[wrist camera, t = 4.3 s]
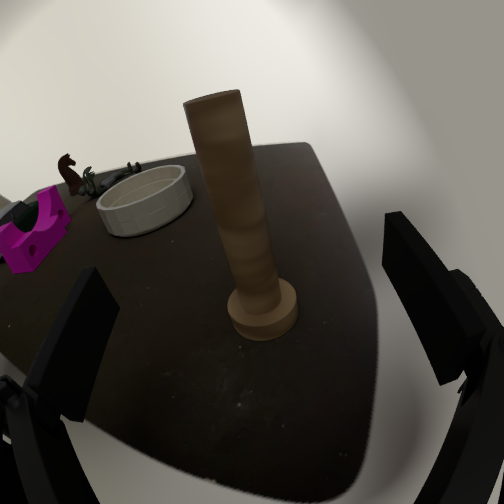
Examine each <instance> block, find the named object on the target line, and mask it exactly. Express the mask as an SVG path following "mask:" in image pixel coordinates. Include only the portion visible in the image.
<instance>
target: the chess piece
mask: <svg viewBox="0 0 504 504" xmlns="http://www.w3.org/2000/svg"><path fill="white" fill-rule="evenodd" d="M69 156H70V155H68V153H67V154H66V155H64V156H62V157H61V158H60V160H59V161H58V169H59V172H60V174H61V176H62V177H63V178H64V180H65V182H66V183H67V184H68V186H69V192H70V195H75V194H77V193H78V192H79V189H80V187H81V186H84V185H85V183H84V181H83V180H82V178H81V177H80V176H79V175H78V174H77V173H76V172H75V171H74V170H72V169H71V168H70V167H68V166H70V165H73V166H75V164H76V162H75V161H74V160H72V159H71V158H69ZM85 186H86V185H85Z"/></svg>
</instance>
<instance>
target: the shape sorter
mask: <svg viewBox="0 0 504 504" xmlns="http://www.w3.org/2000/svg"><path fill="white" fill-rule="evenodd" d="M10 203H12V202H11V201H10V200H8V199H7V198H5V197H3V196H2V195H0V210H2V209H3V208H4V207H6V206H7V205H9V204H10Z"/></svg>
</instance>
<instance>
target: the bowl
mask: <svg viewBox="0 0 504 504" xmlns="http://www.w3.org/2000/svg"><path fill="white" fill-rule="evenodd" d="M192 199H193V194H192V190H191V187H190V184H189V180H188V177H187V174H186V171H185V168H184V167H182V166H180V165H167V166H160V167H157V168H153V169H149V170H146V171H143V172H141V173H138V174H135V175H133V176H131V177H129V178H127V179H125V180H123V181H121V182H120V183H118V184H116V185H114V186H113V187H112V188H110V189H109V190H108V191H106V192H105V193H104V194H103V195H102V196H101V197H100V198H99V200H98V202H97V204H96V206H97V208H98V211H99V213H100V215H101V217H102V220H103V222H104V224H105V226H106V228H107V230H108V232H109V233H110V234H112V235H115V236H120V237H132V236H138V235H142V234H145V233H148V232H151V231H154V230H156V229H158V228H160V227H162V226H164V225H166V224H168V223H170V222H171V221H173V220H174V219H176V218H177V217H178V216H180V215H181V214H182V213H183V212H184V211H185V210H186V209H187V207H188V206H189V204H190V203H191V201H192Z"/></svg>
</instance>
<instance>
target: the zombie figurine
mask: <svg viewBox="0 0 504 504" xmlns="http://www.w3.org/2000/svg"><path fill="white" fill-rule="evenodd" d="M135 164H136V167H137V168H136V169H135V171H133V170H132V167H131V164H130V162H129V163H128V164H127V166H128V170H126V171H122V172H120V171H118V172H115V173H113V174H112V175H111V176H110V177H108V178H107V179H105V180H104V181H102V183H101V186H100V188H99V189H97V188H96V187H95V184H94V182H93V177H95V176H94V175H95V174H94V173H93V172H90V173H89V171H90V170H91V168H92V167H91V166H90V167H87V168H86V169H85V170H84V172H83V180H84V182H85V184H86V186H85V185H84V186H81V187H80V189H79V192H78V193H79V195H81V196H84V195H85V194H86V193H87V194H88V195H89V196H90V197H97V196H100V195H101V194H102V193H104V192H105V191H106V190H108V189H110V185H111V184H112V182H113V181H115V179H117V178H118V177H122V176H125V175H130V174H133V173H139V172H141V166H140V164H139V163H138V162H136V163H135ZM127 172H128V173H127ZM85 173H86V176H87V178H86V177H85ZM91 173H92V174H91ZM87 179H88V180H87ZM88 181H90V182H91V183H92V184H90V182H89V183H88ZM88 186H89V187H88ZM91 186H92V187H93V190H90V188H92V187H91Z"/></svg>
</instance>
